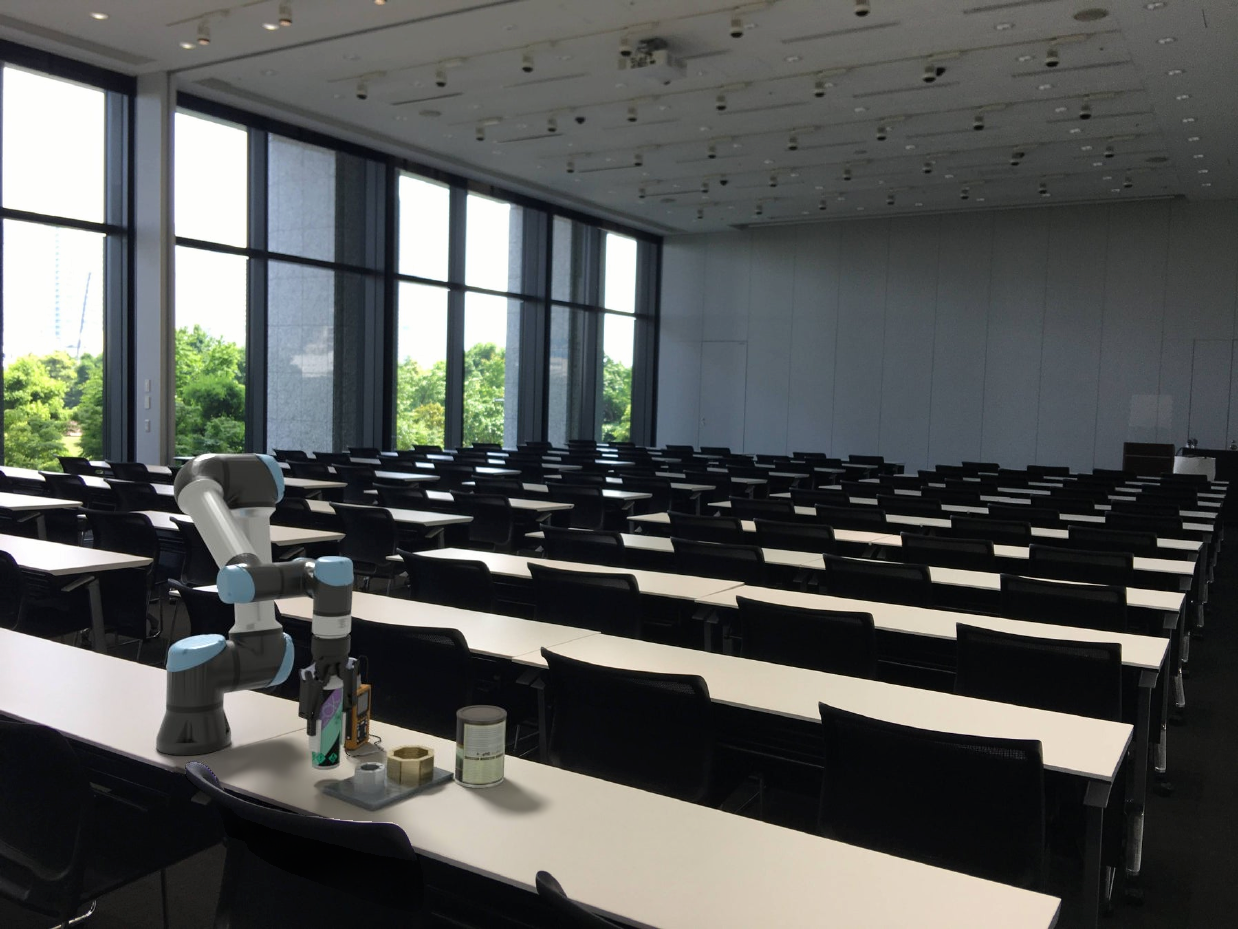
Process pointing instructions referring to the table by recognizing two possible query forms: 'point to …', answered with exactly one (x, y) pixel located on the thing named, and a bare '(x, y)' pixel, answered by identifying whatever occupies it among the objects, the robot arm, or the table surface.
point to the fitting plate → (390, 778)
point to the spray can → (330, 726)
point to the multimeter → (359, 718)
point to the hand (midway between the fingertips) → (326, 746)
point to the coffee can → (480, 746)
